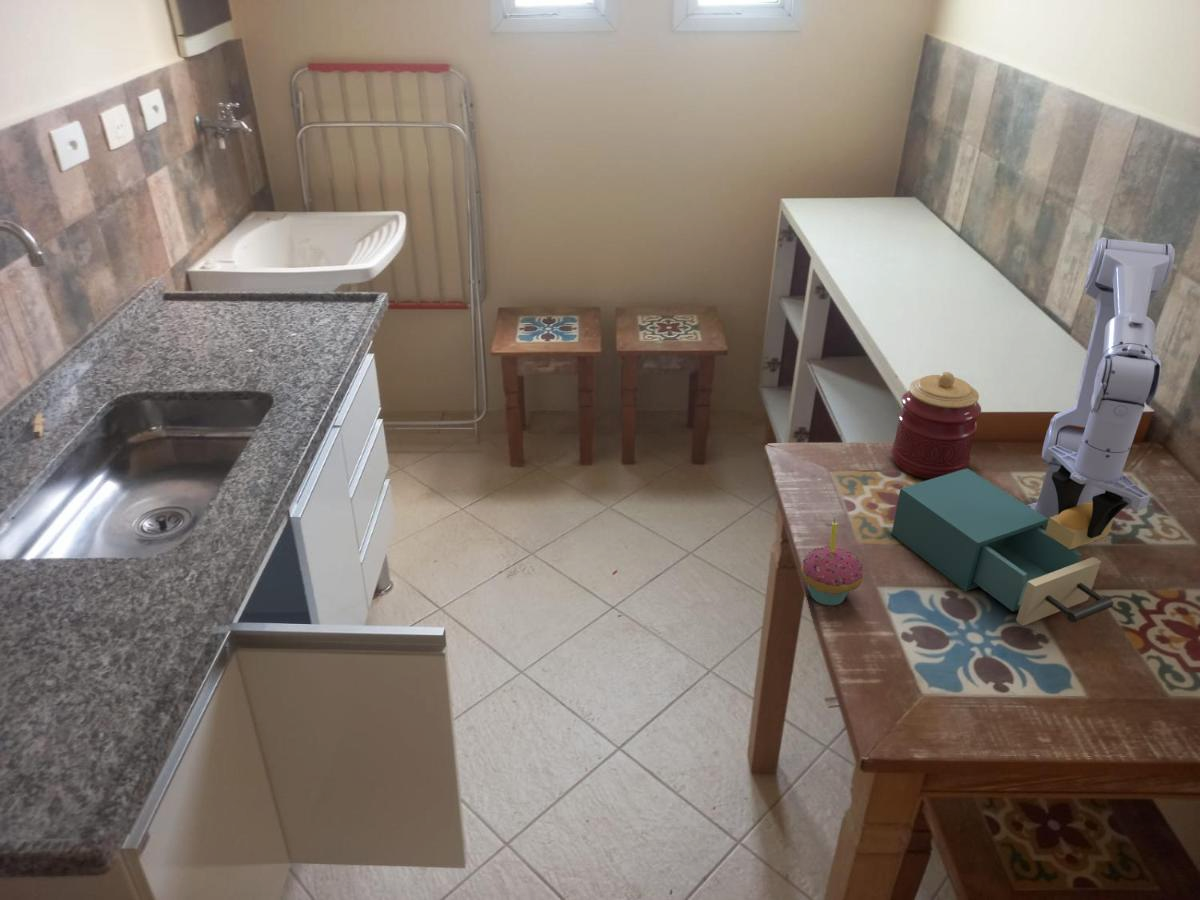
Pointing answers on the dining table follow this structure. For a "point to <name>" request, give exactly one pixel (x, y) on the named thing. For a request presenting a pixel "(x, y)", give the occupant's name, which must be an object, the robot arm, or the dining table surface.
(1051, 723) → the dining table surface
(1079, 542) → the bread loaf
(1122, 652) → the dining table surface
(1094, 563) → the drawer
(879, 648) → the dining table surface
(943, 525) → the cabinet
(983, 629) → the dining table surface
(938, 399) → the kitchen canister
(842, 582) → the cupcake
